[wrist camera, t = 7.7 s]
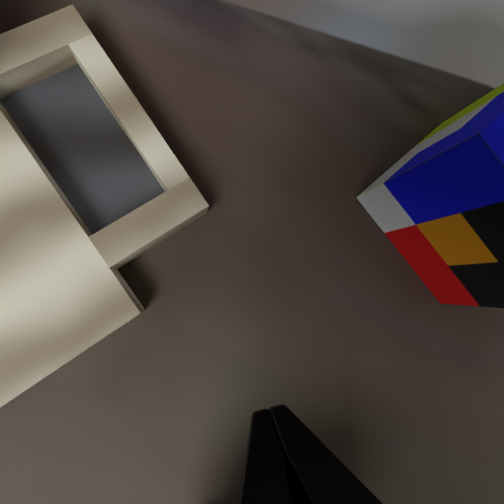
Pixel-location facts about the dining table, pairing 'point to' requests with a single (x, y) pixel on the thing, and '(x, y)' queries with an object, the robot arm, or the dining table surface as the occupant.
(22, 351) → the board
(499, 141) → the puzzle toy
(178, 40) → the dining table surface
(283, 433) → the robot arm
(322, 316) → the dining table surface
